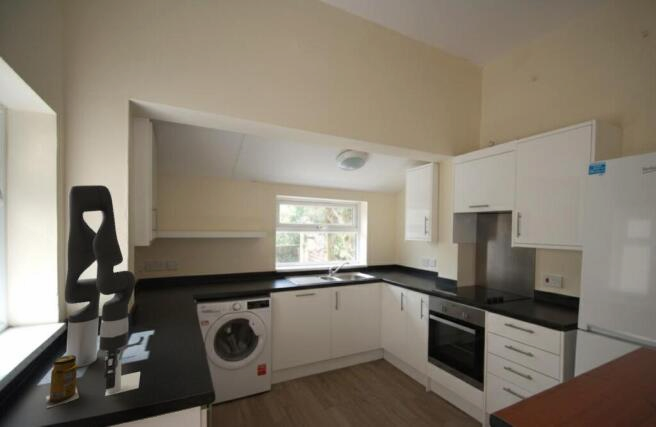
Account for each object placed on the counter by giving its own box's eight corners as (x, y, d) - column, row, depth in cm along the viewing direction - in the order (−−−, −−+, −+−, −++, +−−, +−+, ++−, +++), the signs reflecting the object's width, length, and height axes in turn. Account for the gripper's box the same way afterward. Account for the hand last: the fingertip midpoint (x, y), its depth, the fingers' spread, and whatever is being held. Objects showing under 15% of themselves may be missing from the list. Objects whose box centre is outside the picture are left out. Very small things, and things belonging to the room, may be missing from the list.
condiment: (76, 387, 94) (78, 351, 94) (79, 398, 88) (81, 360, 88) (45, 397, 88) (48, 359, 89) (46, 409, 83) (48, 368, 83)
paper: (110, 378, 99) (110, 378, 99) (140, 372, 104) (140, 371, 104) (104, 396, 89) (104, 395, 89) (138, 388, 94) (138, 387, 94)
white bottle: (108, 389, 92) (108, 354, 93) (122, 385, 94) (122, 351, 95) (105, 395, 89) (106, 358, 90) (120, 391, 91) (120, 355, 92)
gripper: (103, 327, 97) (101, 375, 96) (95, 341, 84) (92, 398, 83) (130, 323, 100) (127, 370, 100) (126, 336, 88) (123, 390, 87)
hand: (111, 382), depth 92 cm, fingers open, 6 cm apart
